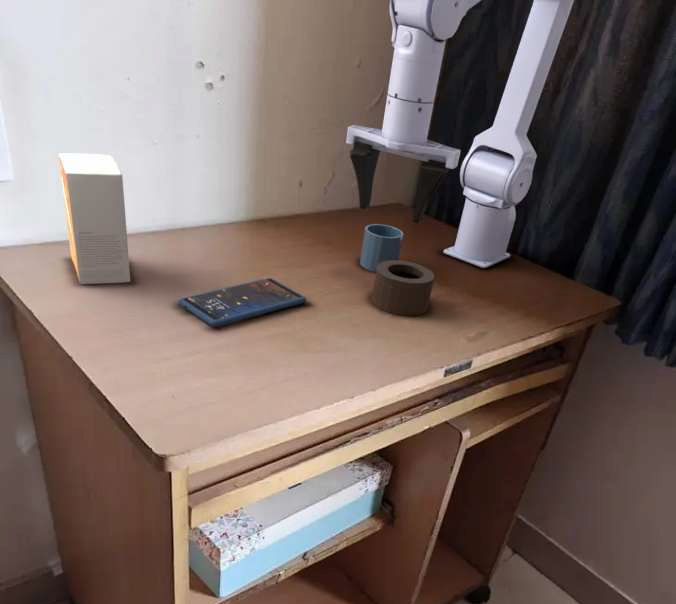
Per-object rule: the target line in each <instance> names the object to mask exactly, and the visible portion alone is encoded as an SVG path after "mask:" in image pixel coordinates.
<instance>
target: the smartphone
mask: <svg viewBox="0 0 676 604" xmlns="http://www.w3.org/2000/svg"><path fill="white" fill-rule="evenodd" d="M306 302H307V298H306V296H304V295H303V294H301V293H299V292H297V291H295V290H293V289H292V288H290V287H288V286H286V285H284V284H283V283H281V282H279V281H277V280H275V279H273V278H272V277H267V278H263V279H258V280H253V281H250V282H246V283H241V284H237V285H233V286H228V287H223V288H220V289H216V290H211V291H207V292H201V293H198V294H194V295H189V296H184V297H180V298H179V299H178V302H177V303H178V305H179V306H181V307H182V308H183V309H186V310H187V311H188V312H190V313H192V314H193V315H194V316H196V317H197V318H199V319H201V320H202V321H204V322H205V323H206V324H208V325H210V326H212V327H215V328H216V327H221V326H223V325H227V324H231V323H235V322H239V321H243V320H246V319H249V318H254V317H256V316H261V315H265V314H267V313H268V314H269V313H271V312H275V311H278V310H282V309H286V308H290V307H294V306H297V305H301V304H304V303H306Z"/></svg>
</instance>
